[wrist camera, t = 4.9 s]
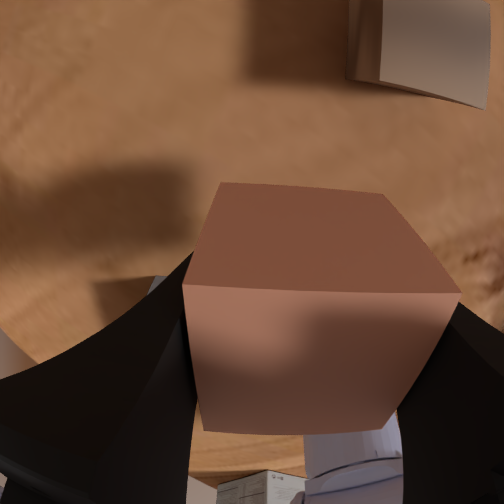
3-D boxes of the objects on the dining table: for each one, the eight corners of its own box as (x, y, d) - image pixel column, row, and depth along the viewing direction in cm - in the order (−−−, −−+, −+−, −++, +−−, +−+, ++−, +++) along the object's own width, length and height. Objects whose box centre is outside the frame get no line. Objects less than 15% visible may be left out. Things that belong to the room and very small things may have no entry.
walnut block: (431, 97, 13) (485, 110, 9) (344, 79, 13) (379, 80, 9) (435, 15, 11) (489, 4, 6) (348, -9, 11) (382, -39, 7)
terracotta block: (352, 316, 12) (381, 429, 7) (222, 312, 12) (203, 430, 7) (383, 194, 9) (462, 293, 5) (220, 182, 9) (182, 284, 5)
